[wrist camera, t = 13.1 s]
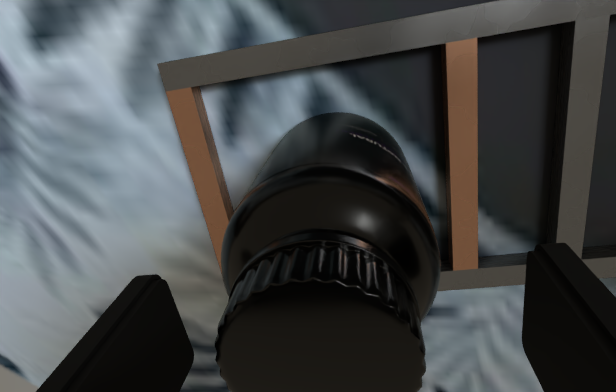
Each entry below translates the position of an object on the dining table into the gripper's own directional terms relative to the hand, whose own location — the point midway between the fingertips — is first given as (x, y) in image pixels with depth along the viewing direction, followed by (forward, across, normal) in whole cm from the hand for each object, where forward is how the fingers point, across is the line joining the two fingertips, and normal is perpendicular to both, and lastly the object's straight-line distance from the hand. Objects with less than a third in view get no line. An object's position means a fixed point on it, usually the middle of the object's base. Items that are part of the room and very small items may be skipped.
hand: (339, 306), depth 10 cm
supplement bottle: (+10, +1, 0) cm, 10 cm away
